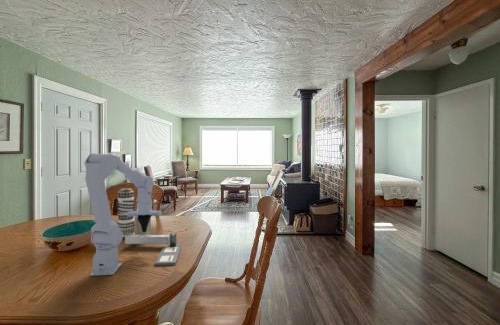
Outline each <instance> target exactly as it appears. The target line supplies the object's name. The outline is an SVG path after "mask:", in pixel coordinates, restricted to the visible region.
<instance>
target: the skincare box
mask: <svg viewBox="0 0 500 325" xmlns="http://www.w3.org/2000/svg"><path fill="white" fill-rule="evenodd" d="M137 218H138V216H135V235H152V224H151V223H152V222H151V221H152V220H151V218H152V217H151V218H150V220H149V223H148V226H147V231H146V232H142V227H141V225H140V223H139V221H138V219H137Z"/></svg>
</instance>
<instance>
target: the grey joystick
mask: <svg viewBox="0 0 500 325" xmlns="http://www.w3.org/2000/svg"><path fill="white" fill-rule="evenodd" d="M169 235H170V242H169V244H167V246H166V247H180V242H179V243H177V233H169Z"/></svg>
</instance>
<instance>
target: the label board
mask: <svg viewBox="0 0 500 325" xmlns="http://www.w3.org/2000/svg"><path fill="white" fill-rule="evenodd" d="M181 250H182V246H179V247H167V246H164V247H162V249H161V251H160V252H159V254H158V256H157V257H156V260H155V262H154V264H153V265H154V267H158V266H176V265H177V261H178V258H179V256H180V252H181Z"/></svg>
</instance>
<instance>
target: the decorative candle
mask: <svg viewBox="0 0 500 325" xmlns="http://www.w3.org/2000/svg"><path fill="white" fill-rule="evenodd" d="M134 192H135V191H134V190H133V189H132V188H131V187H129V188H127V187H124V188H120V189H119V190H118V191H117V201H116V202H115V203H116V210H117V211H116V214H117V216H118V217H117V222H116V223H117V224H118V225H119V228H120V230H121V231H122V233H123V238H125V236H127V235H136V221H135V216H130V217H127V212H129V211H135V210H134V209H136V207H135V205H136V204H135V202H136V199H135V197H134Z"/></svg>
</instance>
